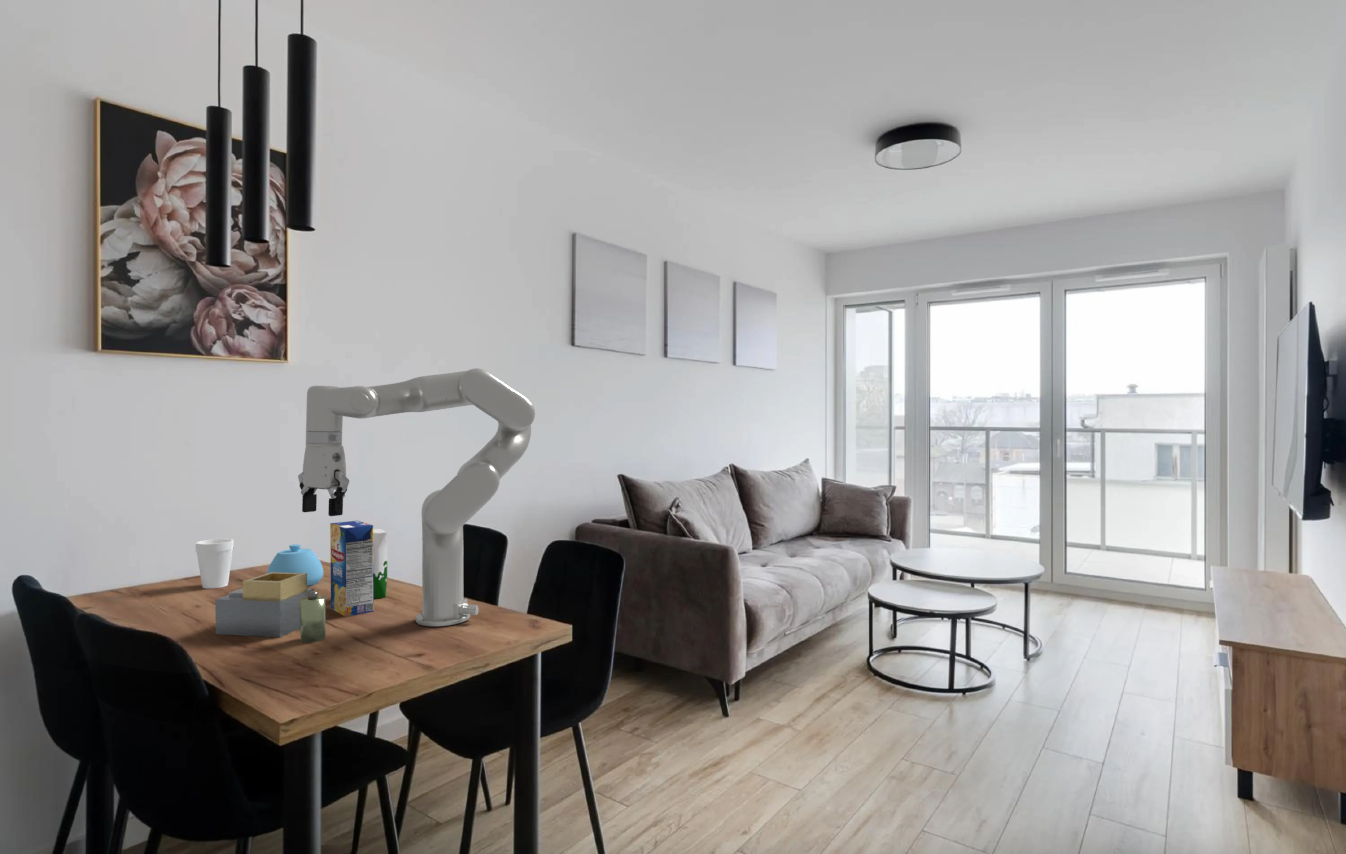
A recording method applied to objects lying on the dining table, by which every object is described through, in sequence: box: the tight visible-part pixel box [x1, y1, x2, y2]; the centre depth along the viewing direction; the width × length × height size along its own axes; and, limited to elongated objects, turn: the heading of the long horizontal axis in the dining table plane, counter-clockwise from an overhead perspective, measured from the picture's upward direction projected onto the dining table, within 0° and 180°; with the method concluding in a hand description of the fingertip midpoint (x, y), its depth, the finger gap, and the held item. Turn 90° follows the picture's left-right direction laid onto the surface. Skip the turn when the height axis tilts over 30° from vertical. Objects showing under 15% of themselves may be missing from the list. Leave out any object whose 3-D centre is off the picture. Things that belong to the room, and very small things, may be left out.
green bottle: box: [299, 590, 327, 644], centre depth 158 cm, size 5×5×10 cm
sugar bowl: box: [266, 543, 324, 587], centre depth 210 cm, size 15×15×12 cm
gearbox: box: [214, 572, 315, 638], centre depth 166 cm, size 16×12×12 cm
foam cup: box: [195, 538, 235, 589], centre depth 207 cm, size 10×9×13 cm
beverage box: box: [329, 520, 375, 618], centre depth 182 cm, size 7×11×22 cm, turn 43°
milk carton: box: [373, 528, 388, 600], centre depth 195 cm, size 9×9×20 cm
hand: (322, 513), depth 164 cm, fingers open, 9 cm apart
